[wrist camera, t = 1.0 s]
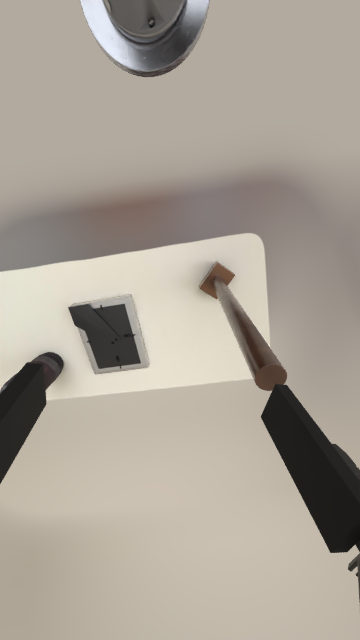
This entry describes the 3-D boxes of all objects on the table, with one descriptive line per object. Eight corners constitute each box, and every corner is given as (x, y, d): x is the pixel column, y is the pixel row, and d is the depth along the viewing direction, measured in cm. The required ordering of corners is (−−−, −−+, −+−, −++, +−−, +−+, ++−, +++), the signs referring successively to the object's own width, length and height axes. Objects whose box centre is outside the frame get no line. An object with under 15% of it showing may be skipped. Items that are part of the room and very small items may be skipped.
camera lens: (32, 359, 66) (-9, 394, 52) (50, 345, 64) (12, 377, 50) (53, 378, 68) (19, 416, 55) (71, 364, 66) (41, 400, 53)
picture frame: (73, 303, 59) (97, 370, 67) (68, 307, 57) (93, 376, 64) (131, 294, 58) (149, 363, 65) (128, 297, 55) (147, 368, 63)
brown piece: (215, 260, 54) (277, 330, 17) (232, 272, 55) (325, 362, 18) (198, 284, 56) (220, 392, 19) (215, 295, 57) (265, 418, 20)
